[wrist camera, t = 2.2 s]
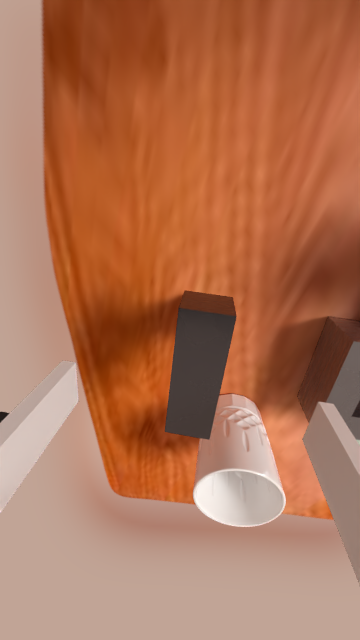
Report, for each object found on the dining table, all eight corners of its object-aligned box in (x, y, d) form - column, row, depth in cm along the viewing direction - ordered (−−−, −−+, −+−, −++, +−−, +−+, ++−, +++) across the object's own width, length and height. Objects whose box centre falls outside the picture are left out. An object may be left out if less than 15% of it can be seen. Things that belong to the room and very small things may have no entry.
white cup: (237, 377, 29) (247, 456, 20) (278, 420, 31) (304, 510, 22) (186, 409, 32) (174, 490, 23) (226, 446, 33) (230, 536, 24)
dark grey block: (194, 262, 24) (178, 307, 13) (226, 266, 24) (236, 316, 13) (184, 343, 28) (164, 431, 17) (211, 348, 28) (209, 439, 17)
